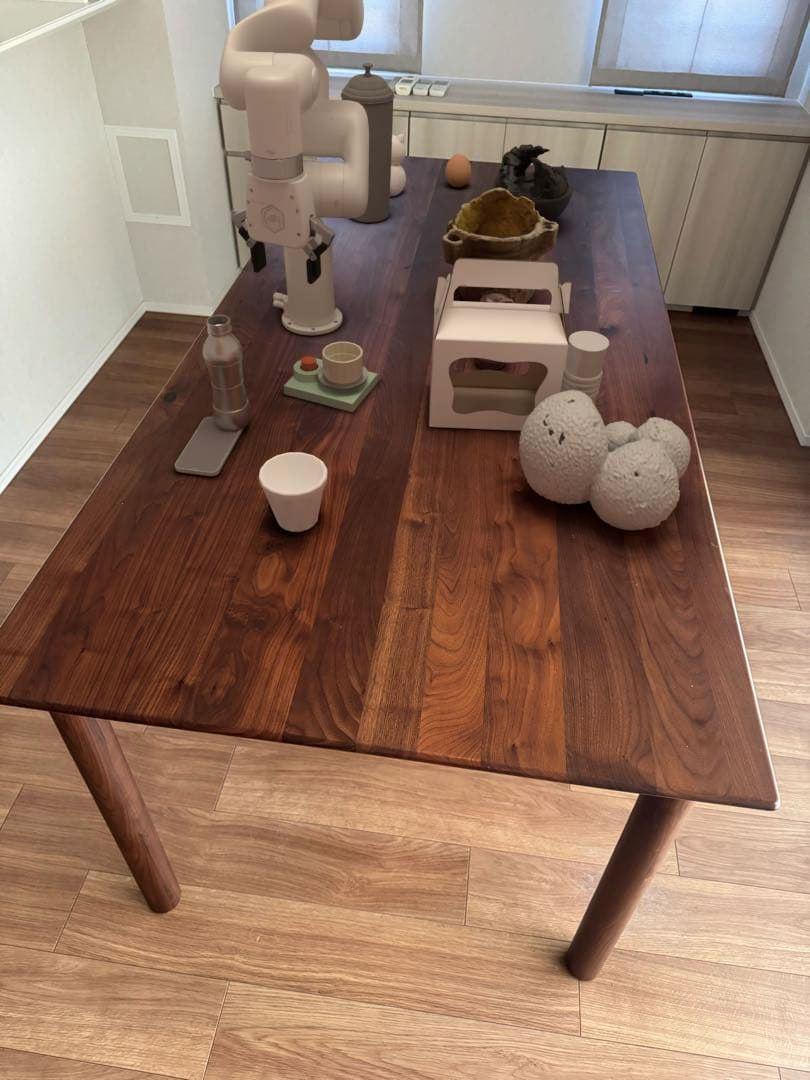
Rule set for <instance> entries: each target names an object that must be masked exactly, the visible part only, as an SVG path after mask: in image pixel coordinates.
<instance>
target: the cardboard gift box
mask: <svg viewBox="0 0 810 1080" xmlns="http://www.w3.org/2000/svg"><path fill="white" fill-rule="evenodd" d="M459 286H462V287H465V286H471V287H495V288H520V289H535V290H541V291H546V290H548V291H549V293H550V295H551V298H550V304H537V303H536V304H535V303H526V304H513V303H489V302H466V301H465V300H463V301H460V300H454V295H455V291H456V290H457V287H459ZM571 289H572V281H564V282H563V283H561V279H560V277H559V266H558V264H557V262H555V261H544V260H539V261H524V260H500V259H475V258H459V259H457V260H456V261H455V264H454V265H453V269H452V272H451V273H448V274H447V277H446V276H442V275H438V276H437V282H436V289H435V294H434V295H435V296H434V303H433V309H434V310H433V325H432V326H433V327H432V343H431V344H432V346H431V362H430V378H429V379H430V381H429V410H428V411H429V417H428V419H429V420H428V424H429V425H428V427H430V428H443V429H444V428H449V429H470V430H490V431H491V430H492V431H494V430H495V431H515V432H516V431H518V432H521V431H522V428H523V426H524V423H525V421H526V420H527V418H528V416H529V415H530V414H531V413H532V412H533V410H534V409H535V408H536V407H537V406H538V405H539V404H540V403H541V402H543V401H544V400H545V398H548V397H549V396H551V395H554V394H557V393H560V389H561V384H562V379H563V374H564V368H565V363H566V359H567V354H568V349H569V334H568V328H567V327H568V326H567V320H566V314H569V313H570V311H569V310H570V302H571V301H570V299H571ZM467 358H474V359H475V358H483V359H489V360H494V361H499V362H506V363H520V362H521V363H522V362H525V363H526V362H529V366H528V370H527V372H525V373H523V374H520V375H519V374H517V375H516V374H512V373H508V372H506V371H502V370H483V369H480V370H474V371H473V370H472V371H467V372H464V371H463V372H461V371H458V370H455V369H454V368H453V362H455V361H457V360H460V359H467Z"/></svg>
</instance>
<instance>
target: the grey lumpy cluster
mask: <svg viewBox="0 0 810 1080" xmlns="http://www.w3.org/2000/svg"><path fill="white" fill-rule="evenodd" d="M518 445H519V446H518V450H519V452H518V453H519V454H518V455H519V458H520V459H519V461H520V463H519V464H520V466H521V470H522V471H523V473H524V478H525V479H526V480H527V481H526V482H527V484H529V487H530V488H531V489H532V490H533V491H534V492H535V493H536V494H538V495H539V496H540V497H543V498H544V499H547V500H550V501H551V502H556V503H558V504H562V505H564V504H566V505H572V504H573V505H579V504H584V503H588V501H589V503H590V505H591V508H592V509H593V510H594V512H595V513H596V515H598V516H597V517H599V518H600V520H602V521H603V522H604V523H607V524H608V525H610V526H611V527H614V528H617V529H620V530H624V531H642V530H645V529H648V528H649V529H651V528H655V527H658V526H660V524H661V522H664V521H666V520H667V519H668V517H669V516H670V515H671V513H672V512H673V511H674V510H675V509H676V508H677V505H678V503H679V501H680V492H681V490H680V488H679V487H680V486H679V485H680V483H679V482H680V479H681V478H682V477H683V476H684V475H685V473H686V471H687V469H688V466H689V464H690V461H691V455H692V447H691V442H690V440H689V437H688V436H687V435H686V433H685V432H684V430H683V429H681V428H680V427H679V426H678V425H676V424H675V423H674V422H673V420H668V419H665V418H663V417H658V416H657V417H655V416H654V417H649V418H648V419H647V420H646V421H645V422H644V423H642V424H641V425H640V426H639V427H637V428H636V427H635V426H633V424H632V423H629V422H628V421H625V420H622V421H615V422H610V423H608V424H607V425H605V424H604V420H603V418H602V415H601V413H600V412H599V410H598V409H597V406H596V405H595V406H594V403H593V401H592V399H591V398H589V396H587V395H586V394H585V393H583V392H581V391H574V390H568V391H564V392H560V393H557V394H554V395H551V396H549V397H548V398H545V400H544V401H543V402H541V403H540V404H539V405H538V406H537V407H536V408H535V409H534V410H533V412H532V413H531V414H530V415H529V416H528V418H527V420H526V421H525V423H524V426H523V428H522V431H520V436H519V441H518Z"/></svg>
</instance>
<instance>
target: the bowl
mask: <svg viewBox="0 0 810 1080" xmlns="http://www.w3.org/2000/svg"><path fill="white" fill-rule="evenodd" d="M321 360H322V362H323V374H324V375H325V377H326V378H327V379H328V380H329V381H331V382H334V383H338V384H348V383H352V382H355V381H357V380H358V379H359V378H360V377H361V376H362V375H363V366H364V350H363V349H362V347H361V346H360V345H358V344H356V342H355V343H354V342H351V341H350V342H349V341H335V342H332V343H329V344H327V345H326V346H324V347H323V348H322V351H321Z"/></svg>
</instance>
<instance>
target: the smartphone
mask: <svg viewBox="0 0 810 1080" xmlns="http://www.w3.org/2000/svg"><path fill="white" fill-rule="evenodd" d="M244 429H245V427H244V428H243V429H240V430H237V431H226V430H223V429H221V428H220V427H219V426H218V425H217V424H216V422H215V420H214V417H213V416H206V417H204V418H202V420H201V422H200V424H199V425H198V427H197V428H196V429H195V432H194V433H193V434H192V437H191V438H190V439H189V440H188V443H187V444H186V446H185V447H184V449H183V451H181V454H180V455H179V457H178V458H177V460H176V461H175V463H174V468H175V471H176V472H179V473H183V474H191V475H197V476H207V477H216V476H218V475H219V474H220V472H221V470H222V468H223V466H224V465H225V463H226V461H227V459H228V457H229V456H230V454H231V452H232V450H233V448H234V447H235V445H236V444H237V441H238V440H239V438H240V436H241V434H242V433H243V431H244Z"/></svg>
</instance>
